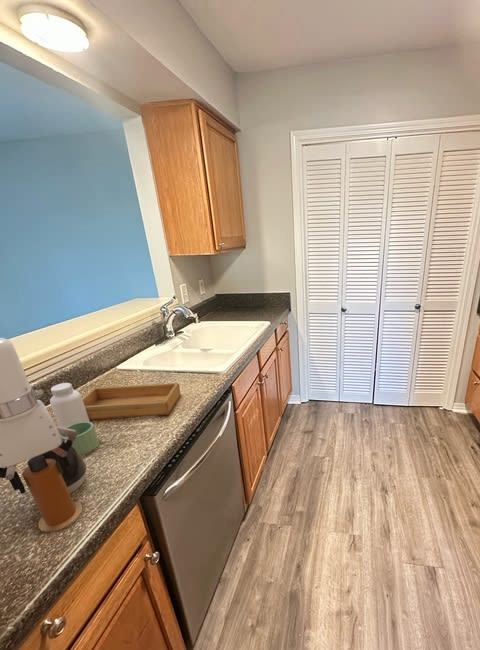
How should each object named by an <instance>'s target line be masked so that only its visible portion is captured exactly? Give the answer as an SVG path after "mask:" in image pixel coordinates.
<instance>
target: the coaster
mask: <svg viewBox="0 0 480 650" xmlns="http://www.w3.org/2000/svg"><path fill="white" fill-rule="evenodd" d="M73 502H74V505H75V507H76V511H75V513H74V515H73V516H72V517H71V518H70V519H68V520H67V521H65V522H63V523H61V524H58V525H54V526H49V525H47V524H46V523H45V521H44V519H43V517H42V516H41V517H40V518H39V520H38V524H37V527H38V529H39V531H41V532H43V533H53V532H57V531H61V530H62V529H64V528H67V527H68V526H70V525H72V524H73V523H74V522H75V521H76V520H77V519H78V518H79V517H80V516H81V514H82V512H83V505H82V503H81V502H79V501H77V500H73Z"/></svg>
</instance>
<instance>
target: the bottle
mask: <svg viewBox="0 0 480 650" xmlns="http://www.w3.org/2000/svg"><path fill="white" fill-rule="evenodd" d="M26 464H27V467H26V468H24V470H23V471H22V473H21V475H22V478H23V480H24V482H25V484H26V486H27V488H28V490H29V492H30V493H31V496H32V498H33V501H34V502H35V504H36V506H37V508H38V510H39V513H40V515H41V517H43V519H44V521H45V523H46V524H47V525H49V526H54V525H58V524H61V523H63V522H65V521H67V520H68V519H70V518H71V517H72V516H73V515H74V513H75V511H76V507H75V505H74V502H73V501H74V500H73V498H72V495H71V493H69V491H68V488H67V486H66V484H65V481H64V479H63V477H62V474H61V472H60V470H59V467H58V465H57V462H56V461H55V460H54V459H45V457H44V456H42V455H40V456H36V457H34V458H31V459H29V460H27V462H26Z"/></svg>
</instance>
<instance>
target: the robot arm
mask: <svg viewBox="0 0 480 650" xmlns="http://www.w3.org/2000/svg"><path fill="white" fill-rule="evenodd" d="M44 396H45V393H44V391H43V389H41V388H40V389H32V386H31V384H30V382H29V379H28V377H27V374H26V371H25V370H24V367H23V365H22V362H21V360H20V358H19V355H18V352H17V351H16V348H15V346H14V344H13V343H12V341H11V340H9V339H8V338H4V337H0V479H5V480H7V481H9V483H10V485H11V487H12V488H13V490H14V492H16V491H18V490H19V493H20V494H21V495H23V494H25V493H26V492H27V491H26V488H25V485H24V483H23V481H22V479H21V477H20V475H19V473H18V471H17V470H16V469H17V468H16V467H17V465H19V464H21V463H24V462H26V461H29V460H30V459H31V458H34V457H36V456H39V455H41V454H44V453H46V452H48V451H53V452H55V453H56V456H57V458H58V461H59V463H60V465H61V468H62V470H63V472H64V473H65V474H67V473H69V472H68V469H67V467H70V464H69V461H68V459H67V457H66V456H67V452H68V450H69V449H70V447H71V446H72V444H73V441H74V440H75V438H76V436H77V434H78V433H77V431H76V430H73V429H69V428H64V427H59V425H56V423H55V421H54V418H53V417H52V415H51V413H50V412H49V410H48V407H46V404H45V403H44V402H43V401H42V400H40V399H39V398H42V397H44ZM60 435H65V436H67V437H66V439H65V440H64V441H63V443H62V439H61V436H60ZM61 444H62V445H61Z"/></svg>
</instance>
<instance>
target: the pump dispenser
mask: <svg viewBox="0 0 480 650" xmlns="http://www.w3.org/2000/svg"><path fill="white" fill-rule="evenodd" d="M61 439H62V443H63V441H64V440H65V439H63V438H62V437H61ZM61 445H62V444H61ZM41 455H42V456H44V457H45V459H54V460H55V461H56V462H57V465H58V467H59V470H60V472H61V474H62V477H63V479H64V481H65V484H66V486H67V488H68V491H69V493H70V494H72V493H74V492H75V491H77V490H78V489H79V488H80V487H81V486H82V484H84V481H85V479H86V476H87V464H86V463H85V461H84V459H83V457H82V455H80V454H79V453H78V452H77V450H76V449H75V448H74V447H73V446H71V447H70V449H69V450H68V452H67V456H66V457H67V459H68V461H69V464H70V467H67V469H68V472H69V473H67V474H65V473H64V472H63V470H62V468H61V465H60V463H59V461H58V458H57V456H56V453H55V452H53V451H48V452H46V453H44V454H41ZM39 456H40V455H39Z"/></svg>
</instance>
